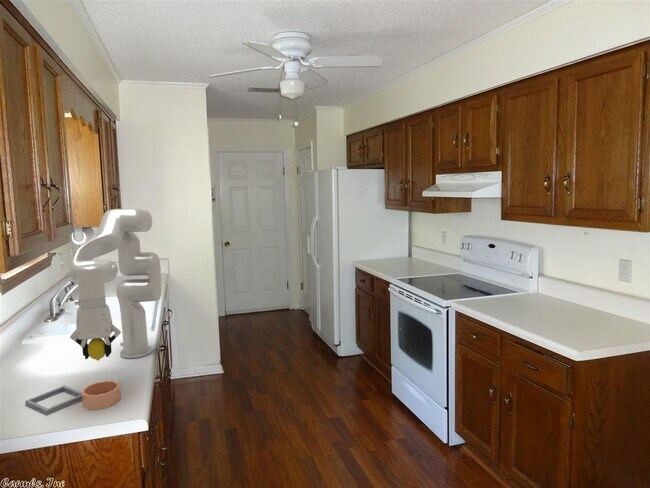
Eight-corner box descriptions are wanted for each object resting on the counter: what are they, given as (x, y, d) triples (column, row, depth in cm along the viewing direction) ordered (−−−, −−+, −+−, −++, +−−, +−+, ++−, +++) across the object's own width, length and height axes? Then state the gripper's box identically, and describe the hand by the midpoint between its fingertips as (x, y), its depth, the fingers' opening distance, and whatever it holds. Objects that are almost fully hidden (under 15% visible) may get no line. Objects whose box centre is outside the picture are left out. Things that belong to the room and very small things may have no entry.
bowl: (76, 404, 155) (74, 391, 154) (107, 390, 164) (106, 378, 164) (96, 412, 149) (94, 399, 149) (127, 398, 159) (126, 385, 158)
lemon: (89, 359, 156) (87, 335, 155) (107, 356, 158) (105, 333, 157) (88, 365, 151) (86, 341, 150) (107, 362, 153) (105, 338, 152)
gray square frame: (25, 405, 155) (25, 400, 155) (64, 389, 166) (64, 385, 166) (46, 415, 148) (46, 410, 148) (86, 398, 159) (86, 394, 159)
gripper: (59, 308, 146) (65, 363, 149) (119, 303, 150) (123, 358, 153) (67, 301, 154) (72, 355, 156) (123, 297, 157) (127, 349, 160)
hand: (97, 356), depth 155 cm, fingers closed on lemon, 5 cm apart
